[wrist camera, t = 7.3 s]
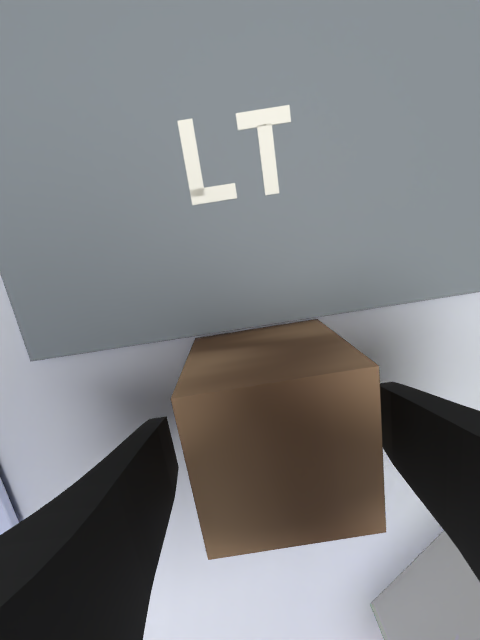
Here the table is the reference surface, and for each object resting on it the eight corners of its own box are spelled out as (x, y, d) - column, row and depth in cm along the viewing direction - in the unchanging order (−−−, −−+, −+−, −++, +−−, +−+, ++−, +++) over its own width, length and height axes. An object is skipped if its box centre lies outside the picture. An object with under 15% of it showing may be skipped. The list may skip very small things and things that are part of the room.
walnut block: (216, 443, 13) (208, 559, 8) (195, 337, 12) (170, 398, 7) (326, 425, 13) (385, 532, 8) (316, 318, 12) (378, 365, 7)
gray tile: (35, 358, 11) (29, 361, 11) (-88, -6, 9) (-101, -16, 8) (477, 290, 11) (485, 291, 11) (495, -99, 9) (505, -113, 8)
